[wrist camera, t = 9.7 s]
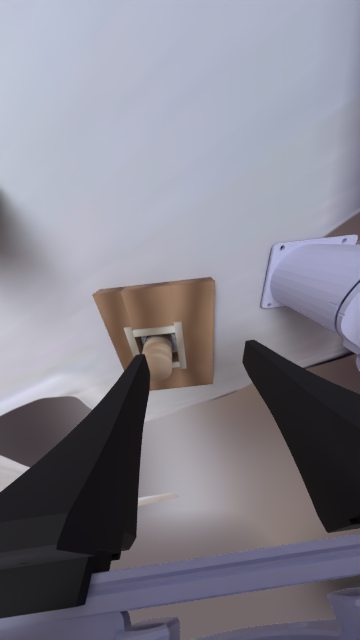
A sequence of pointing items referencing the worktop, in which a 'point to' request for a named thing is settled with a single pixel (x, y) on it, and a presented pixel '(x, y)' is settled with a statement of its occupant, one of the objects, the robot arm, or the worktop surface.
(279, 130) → the worktop surface
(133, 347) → the socket board
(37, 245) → the worktop surface
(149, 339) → the peg
